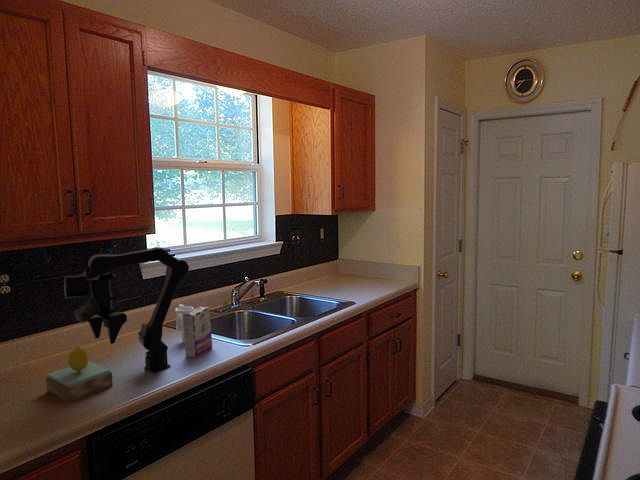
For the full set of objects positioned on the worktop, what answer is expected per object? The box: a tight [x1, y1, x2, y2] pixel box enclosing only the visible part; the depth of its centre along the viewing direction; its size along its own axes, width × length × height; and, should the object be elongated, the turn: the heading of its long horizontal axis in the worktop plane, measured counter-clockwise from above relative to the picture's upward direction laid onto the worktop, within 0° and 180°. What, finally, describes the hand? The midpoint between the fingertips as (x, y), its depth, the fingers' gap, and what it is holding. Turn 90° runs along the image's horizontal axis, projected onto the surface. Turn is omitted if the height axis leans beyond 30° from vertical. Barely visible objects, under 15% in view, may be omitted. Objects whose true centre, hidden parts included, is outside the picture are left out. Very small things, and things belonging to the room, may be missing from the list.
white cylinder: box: [175, 303, 195, 344], centre depth 189 cm, size 7×7×15 cm
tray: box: [45, 371, 114, 404], centre depth 147 cm, size 14×13×4 cm
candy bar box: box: [183, 306, 213, 359], centre depth 177 cm, size 11×5×16 cm, turn 161°
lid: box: [46, 360, 111, 388], centre depth 147 cm, size 13×13×1 cm
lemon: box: [68, 346, 89, 372], centre depth 146 cm, size 6×6×8 cm
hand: (104, 340), depth 153 cm, fingers open, 9 cm apart
